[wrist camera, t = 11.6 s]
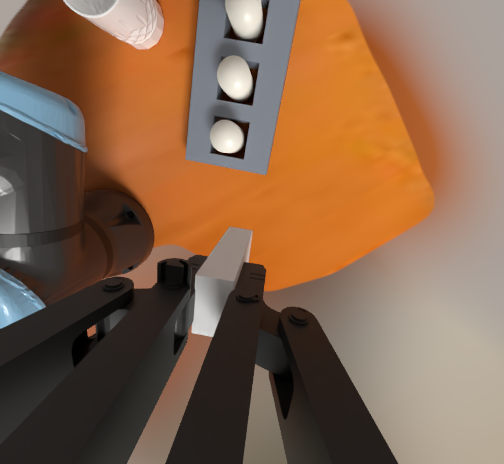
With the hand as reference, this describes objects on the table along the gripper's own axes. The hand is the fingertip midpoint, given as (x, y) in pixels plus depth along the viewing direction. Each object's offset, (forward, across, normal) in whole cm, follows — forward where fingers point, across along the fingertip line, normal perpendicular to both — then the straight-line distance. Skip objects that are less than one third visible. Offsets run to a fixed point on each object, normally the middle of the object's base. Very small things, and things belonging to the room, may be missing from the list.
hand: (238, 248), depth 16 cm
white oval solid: (+24, -5, +14) cm, 28 cm away
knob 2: (+24, -5, +21) cm, 32 cm away
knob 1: (+24, -6, +7) cm, 25 cm away
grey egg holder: (+24, -5, +14) cm, 29 cm away
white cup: (+25, -20, +21) cm, 38 cm away
